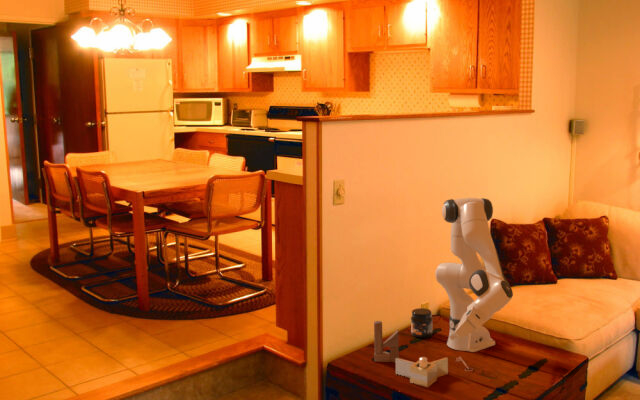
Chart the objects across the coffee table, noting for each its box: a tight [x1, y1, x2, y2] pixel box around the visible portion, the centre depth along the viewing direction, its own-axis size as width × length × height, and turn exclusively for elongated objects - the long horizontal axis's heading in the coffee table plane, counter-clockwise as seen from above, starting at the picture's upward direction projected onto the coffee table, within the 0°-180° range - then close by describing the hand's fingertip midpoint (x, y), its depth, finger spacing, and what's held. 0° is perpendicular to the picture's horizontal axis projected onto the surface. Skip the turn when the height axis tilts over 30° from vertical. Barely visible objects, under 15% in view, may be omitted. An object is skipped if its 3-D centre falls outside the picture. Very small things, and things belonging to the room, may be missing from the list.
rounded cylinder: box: [418, 356, 428, 369], centre depth 256 cm, size 3×3×10 cm
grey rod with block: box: [373, 320, 400, 363], centre depth 277 cm, size 4×11×18 cm, turn 81°
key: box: [454, 356, 475, 373], centre depth 272 cm, size 6×1×15 cm
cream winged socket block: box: [394, 356, 449, 388], centre depth 262 cm, size 18×16×7 cm
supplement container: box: [410, 307, 433, 339], centre depth 306 cm, size 10×10×12 cm
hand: (453, 333), depth 250 cm, fingers open, 8 cm apart
